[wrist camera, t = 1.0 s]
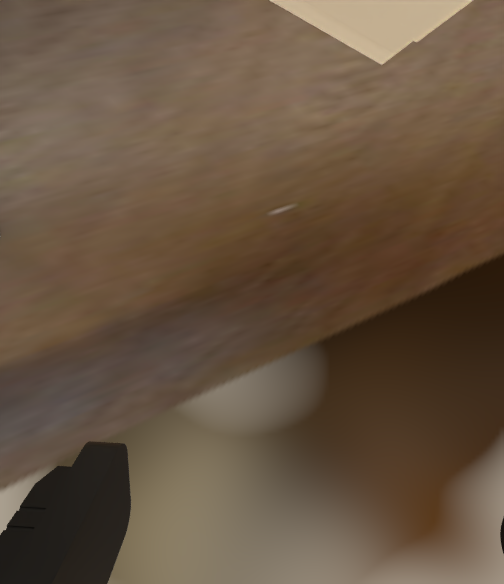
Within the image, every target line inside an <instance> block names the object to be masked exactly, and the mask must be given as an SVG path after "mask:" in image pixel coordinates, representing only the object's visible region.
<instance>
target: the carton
mask: <svg viewBox="0 0 504 584" xmlns="http://www.w3.org/2000/svg"><path fill="white" fill-rule="evenodd" d="M270 1H271V2H273V3H275V4H277V5H278V6H280V7H282V8H284V9H285V10H287V11H289V12H290V13H292V14H294V15H296V16H297V17H299V18H301V19H303V20H304V21H306V22H308V23H310V24H311V25H313V26H315V27H317V28H318V29H320V30H322V31H324V32H325V33H327V34H329V35H331V36H332V37H334V38H336V39H337V40H339V41H341V42H343V43H344V44H346V45H348V46H350V47H351V48H353V49H355V50H357V51H358V52H360V53H362V54H364V55H365V56H367V57H369V58H371V59H372V60H374V61H376V62H378V63H379V64H381V65H382V64H384V63H385V62H386V61H387V60H389V59H390V58H391V57H393V56H394V55H395V54H397V53H398V52H399V51H401V50H402V49H403V48H404V47H406V46H407V45H408V44H410V43H411V42H412V41H415V42H418V41H419V40H421V39H422V38H423V37H425V36H426V35H427V34H429V33H430V32H431V31H433V30H434V29H435V28H437V27H438V26H439V25H441V24H442V23H443V22H445V21H446V20H447V19H449V18H450V17H451V16H453V15H454V14H455V13H457V12H458V11H459V10H461V9H462V8H463V7H465V6H466V5H467V4H469V3H470V2H471V1H473V0H270Z"/></svg>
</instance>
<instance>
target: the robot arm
mask: <svg viewBox="0 0 504 584" xmlns="http://www.w3.org/2000/svg"><path fill="white" fill-rule="evenodd" d="M129 482H130V481H129V467H128V453H127V447H126V445H125V444H121V443H106V442H88V443H86V444H85V446H84V447H83V449H82V450H81V452H80V454H79V455H78V457H77V459H76V460H75V462H74V464H73V465H72V467H66V466H57V467H56V468H55V469H54V470H52V471H51V472H50V473H49V474H47V475H46V476H45V477H43V478H42V479H41V480H40V481H38V482H37V483H36V484H35V485H34V487H33V488H32V489H31V491H30V492H29V494H28V495H27V497H26V498H25V500H24V501H23V503H22V504H21V506H20V509H19V511H16V513H15V514H14V516H13V517H12V519H11V520H10V522H9V523H8V525H7V529H6V530H4V531H3V532H2V533H1V535H0V584H107V583H108V581H109V578H110V575H111V572H112V570H113V567H114V564H115V562H116V559H117V556H118V553H119V551H120V548H121V546H122V543H123V540H124V537H125V535H126V531H127V527H128V523H129V518H130V510H131V496H130V483H129ZM500 535H501V545H502V550H503V553H504V518H503V521H502V525H501V532H500Z"/></svg>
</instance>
